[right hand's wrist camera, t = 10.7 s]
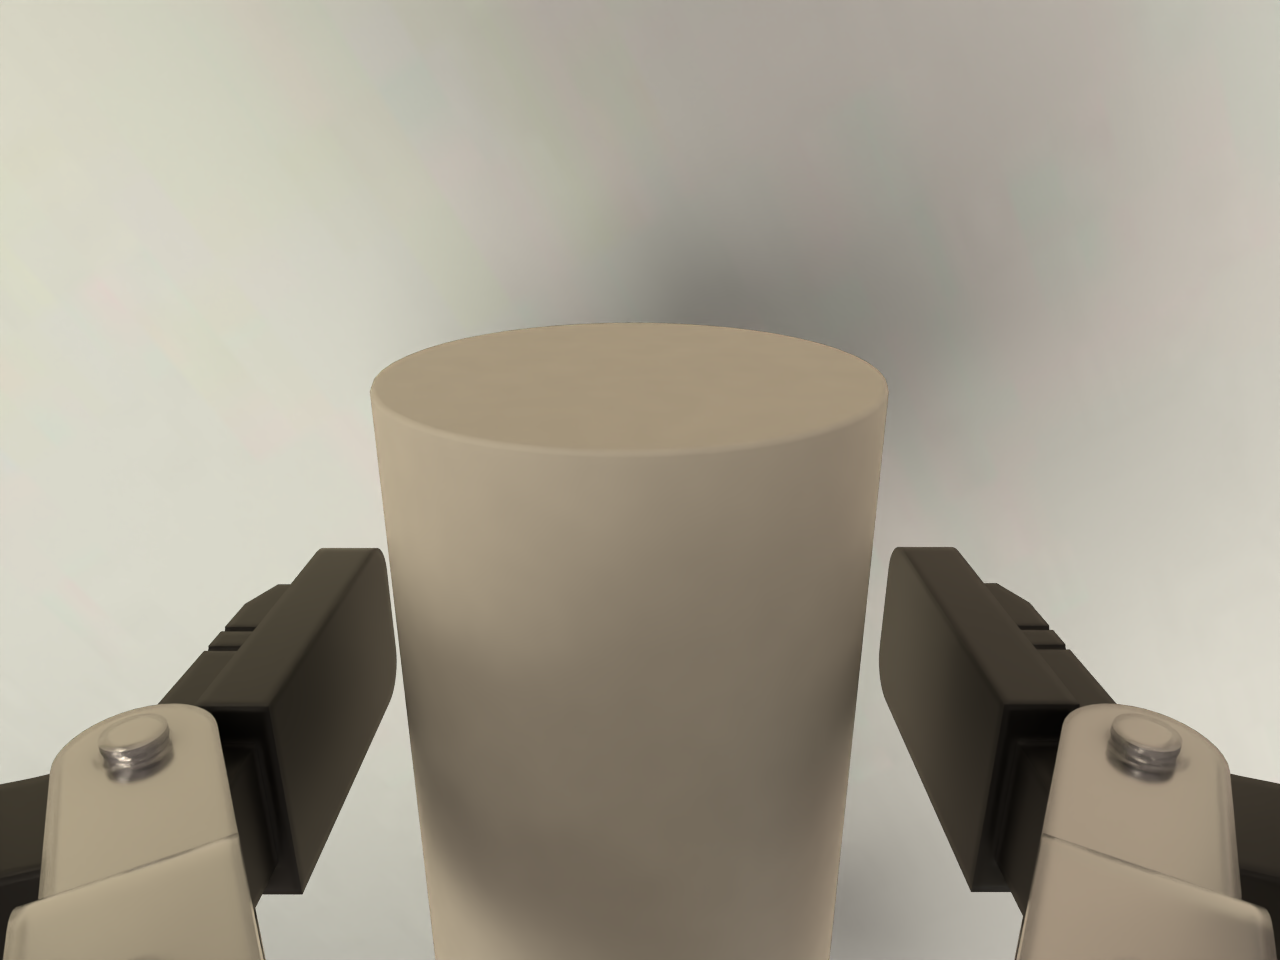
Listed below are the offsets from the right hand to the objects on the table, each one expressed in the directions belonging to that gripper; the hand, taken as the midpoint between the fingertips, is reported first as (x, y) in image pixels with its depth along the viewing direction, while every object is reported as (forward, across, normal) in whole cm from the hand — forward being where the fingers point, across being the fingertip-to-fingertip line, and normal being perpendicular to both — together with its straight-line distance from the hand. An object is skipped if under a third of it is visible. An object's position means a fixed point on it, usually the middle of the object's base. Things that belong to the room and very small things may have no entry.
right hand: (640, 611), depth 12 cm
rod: (+2, 0, -8) cm, 8 cm away
